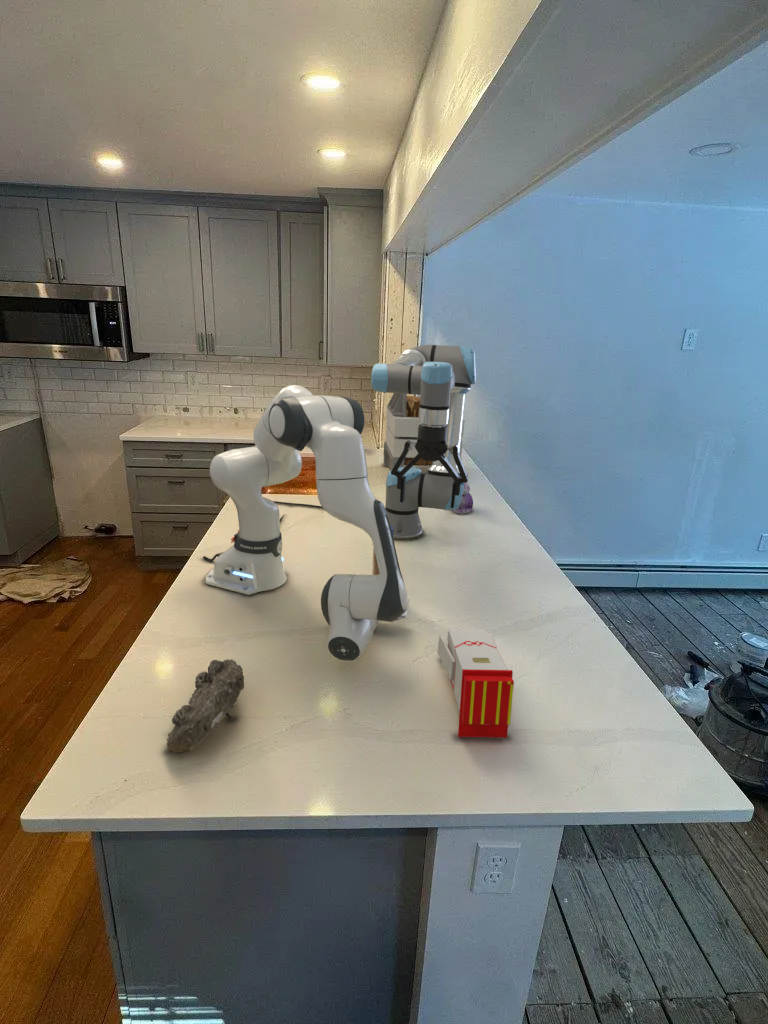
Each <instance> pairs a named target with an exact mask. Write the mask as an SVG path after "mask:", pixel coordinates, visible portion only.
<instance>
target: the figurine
mask: <svg viewBox="0 0 768 1024" xmlns="http://www.w3.org/2000/svg"><path fill="white" fill-rule="evenodd" d="M466 473H467V472H466ZM467 475H468V476H469V473H467ZM470 491H471V487H470V484H469V482H468V481H467V482H466V483H465V485H464V489H463V493H462V497H461V501H460V505H459V507H458V509H456V510H452V511H453V512H454V513H455V514H460V515H464V514H469V513H471V512H472V511H473V507H474V499H473V496H472V495H471V493H470Z"/></svg>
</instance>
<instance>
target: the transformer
mask: <svg viewBox="0 0 768 1024" xmlns="http://www.w3.org/2000/svg"><path fill="white" fill-rule="evenodd" d="M419 407H420V396H419V395H417V396H415V395H414V396H413V395H412V396H411V395H408V394H403V393H392V395H391V398H390V400H389V402H388V404H387V405H386V413H385V414H386V415H385V423H386V428H385V438H384V442H383V466H384V467H388V468H389V472H390V471H391V470H392V469H393V467H394V466H395V464H396V462H397V461H398V459H399V457H400V455H401V454H402V452H403V450H404V445H405V443H406V441H408V440H410V441H411V442H414V443H416V442H417V437H418V426H419V425H420V423H419V422H418V421H419ZM464 429H465V419H464V418H463V422H462V432H461V442H460V452H459V455H460V458H461V460H462V453H463V442H464V441H463V440H462V439H463V438H464V431H465V430H464ZM417 454H418V452H417V450H416V449H415V447H413V448H412V450H409V452H408V454H407V455H406V457H405V459H404V460H403V462H402V464H401V465H400V467H405V466H406V465H407V464H408V463H409V462H410V461H411V460H412V459H413V458H414V457H415V456H416V455H417ZM462 461H463V460H462ZM432 464H433V461H431V460H428V461H424V460H423V459H422V458H420V459H419V460H418V461H417V462H416V463H415V464H414V465H413V466H412V467H417V466H418V467H430V466H432ZM400 467H399V468H400Z"/></svg>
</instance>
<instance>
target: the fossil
mask: <svg viewBox="0 0 768 1024" xmlns="http://www.w3.org/2000/svg"><path fill="white" fill-rule="evenodd" d="M243 670H244V669H243V667H242V665H240V664H237V662H236V661H235V660H234V659H232V658H231V659H227V658H226V659H224V660H223V661H222V660H217V659H212V660H211V661H210V663H209V665H208V666H207V671H201V672H199V673H198V674H197V675H196V676H195V680H194V684H195V685H194V687H195V689H194V690H193V693H192V694H191V697H190V698H189V700H188V704H184V705H182V706H181V707H180V709H177V710H176V711H175V713H174V715H173V716H172V718H171V723H172V724H173V727H172V730H171V731H170V732H168V734H167V738H166V741H167V742H166V745H167V749H168V750H169V751H173V752H174V753H176V754H178V753H182V752H188V751H189V752H192V751H193V750H195V748H196V747H197V746H199V744H200V743H201V742H203V741H204V740H205V739H206V738H207V737H208V736H209V735H210V734H211V733H212V732H214V730H215V729H217V727H218V726H219V724H220V722H221V721H222V720H223V719H224V718H225V716H226V717H227V719H229V720H233V717H232V715H230V714H229V710H230V709H231V708H234V706H235V704H236V703H237V702H238V699H239V697H240V695H241V693H242V691H243V690H245V689H244V688H245V675H244V671H243Z"/></svg>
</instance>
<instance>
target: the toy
mask: <svg viewBox="0 0 768 1024" xmlns="http://www.w3.org/2000/svg"><path fill="white" fill-rule="evenodd" d="M446 640H447V643H446V641H445V639H444V636H443V635H442V634H439V637H438V646H437V656H438V657H439V659H440V661H441V663H442V666H443V668H444V670H445V672H446V674H447V677H448V679H449V681H450V684H451V687H452V690H453V693H454V697H455V701H456V705H457V708H458V711H459V714H458V715H459V716H458V730H457V731H458V732H457V737H458V738H508V731H509V726H510V725H511V717H512V707H513V697H514V696H513V695H514V684H515V680H514V679H513V673H514V671H513V670H512V669H508V667H507V665H506V662H505V661H504V659H503V658H502V655H501V653H500V651H499V649H498V647H497V643H496V639H495V637H494V635H493V634H491V632H490V631H489V629H467V628H466V629H465V628H463V629H461V628H460V629H459V628H448V630H447V639H446Z"/></svg>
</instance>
